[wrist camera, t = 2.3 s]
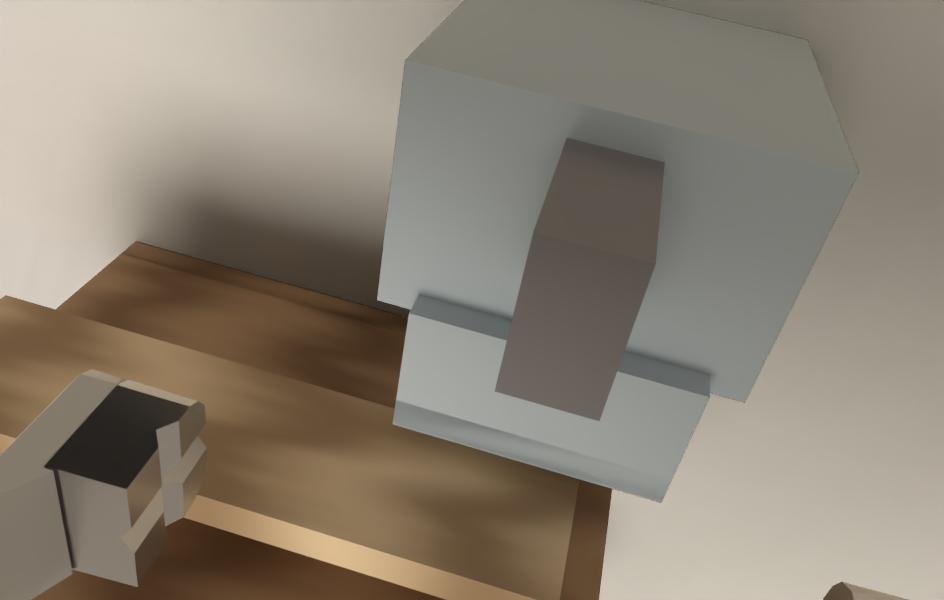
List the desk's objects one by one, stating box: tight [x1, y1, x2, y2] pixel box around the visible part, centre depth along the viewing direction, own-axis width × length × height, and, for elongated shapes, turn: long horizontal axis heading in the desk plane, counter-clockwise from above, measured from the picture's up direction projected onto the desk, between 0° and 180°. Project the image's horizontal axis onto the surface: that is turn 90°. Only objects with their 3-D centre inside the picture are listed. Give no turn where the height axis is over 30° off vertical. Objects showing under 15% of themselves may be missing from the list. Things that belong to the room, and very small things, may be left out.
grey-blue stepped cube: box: [377, 0, 859, 503], centre depth 20 cm, size 9×9×13 cm
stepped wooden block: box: [0, 242, 612, 600], centre depth 25 cm, size 20×7×16 cm, turn 81°
